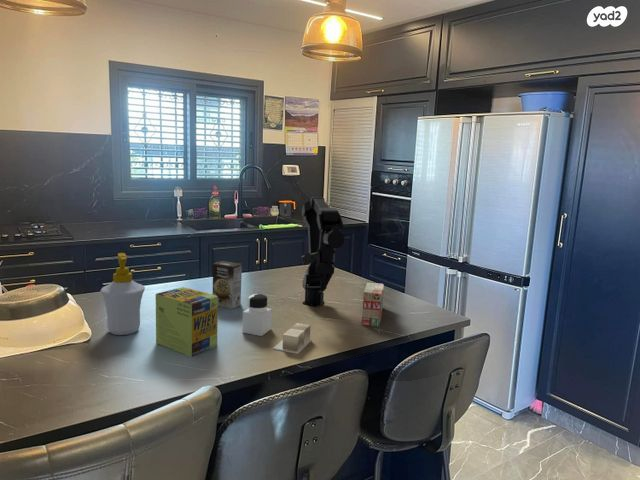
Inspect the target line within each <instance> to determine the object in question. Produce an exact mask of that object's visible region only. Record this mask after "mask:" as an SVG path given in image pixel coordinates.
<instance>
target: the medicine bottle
mask: <svg viewBox="0 0 640 480" xmlns="http://www.w3.org/2000/svg"><path fill="white" fill-rule="evenodd" d="M247 300H248V302H247V303H248V304H247V305H248V306H247V309H245V310H243V312H242V333H244V334H250V335H254V336H259V337H260V336H261V337H263V336H264V335H265V334H267V333H268V332H269V331H270V330H272V318H273V317H272V316H273V309H272V308H271V307H270V308H268V297H267V295H265V294H263V293H262V294H261V293H254V294H250V295H249V296H248V299H247Z"/></svg>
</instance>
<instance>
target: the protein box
mask: <svg viewBox="0 0 640 480" xmlns="http://www.w3.org/2000/svg"><path fill="white" fill-rule="evenodd" d="M218 307H219V306H218V296H216V295H213V293H212V294H211V293H208V292H204V291H200V290H195V289H193V288H188V287H185V286H181V287H178V288H174V289H169V290H166V291H161V292H157V293H156V294H155V344H157V345H160V346H163V347H165V348H168V349H171V350H172V351H176V352H177V353H181V354H184V355H186V356H188V357H194V356H196V355H198V354H201V353H203V352H205V351H207V350H210V349H212V348H215V347H217V346H218V319H219V317H218V309H219V308H218Z"/></svg>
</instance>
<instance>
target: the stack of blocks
mask: <svg viewBox="0 0 640 480" xmlns="http://www.w3.org/2000/svg"><path fill="white" fill-rule="evenodd" d="M384 287H385V285H384V283H376V282H366V285H365V287H364V290H363V297H362V298H363V300H362V301H363V302H362V314H361V326H366V327H367V326H369V327H376V326H377V327H380V324H381V320H382V313H383V309H384V308H383V306H384V292H385V291H384V289H385V288H384Z"/></svg>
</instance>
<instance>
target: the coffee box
mask: <svg viewBox="0 0 640 480" xmlns="http://www.w3.org/2000/svg"><path fill="white" fill-rule="evenodd" d="M242 271H243V264H242V263H238V262H231V261H226V260H220V261H216V262H214V263H212V295H216V296H218V307H222V308H226V309H231V310H233V309H235V308H237V307H239V306H241V305H242V278H243V277H242V276H243V275H242V274H243V273H242Z"/></svg>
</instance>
